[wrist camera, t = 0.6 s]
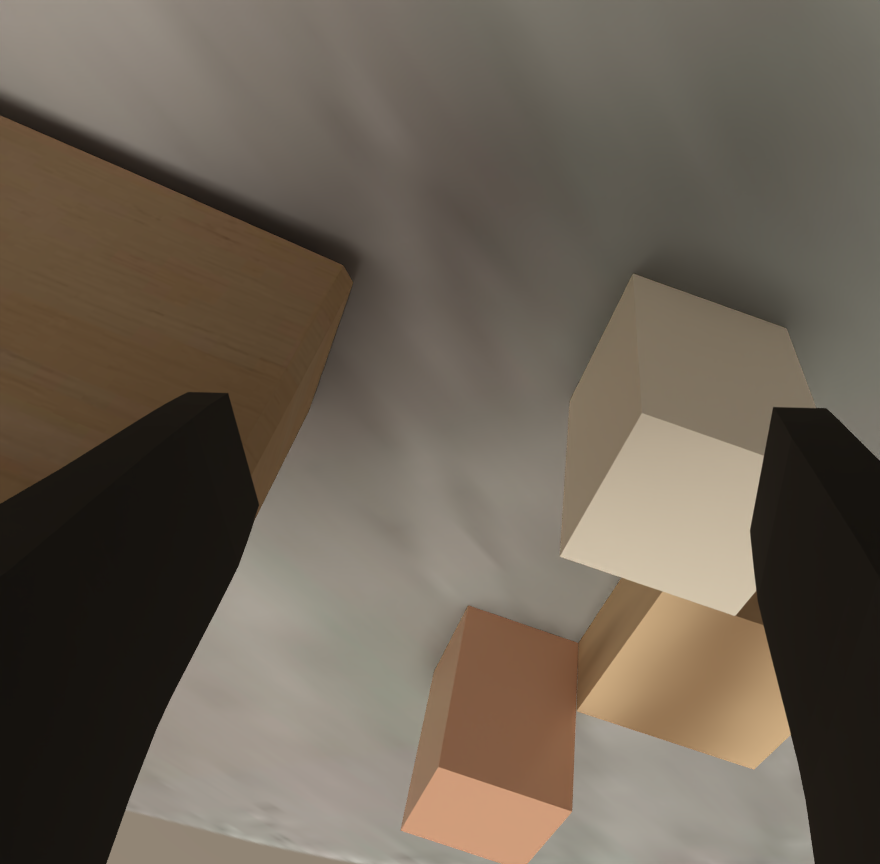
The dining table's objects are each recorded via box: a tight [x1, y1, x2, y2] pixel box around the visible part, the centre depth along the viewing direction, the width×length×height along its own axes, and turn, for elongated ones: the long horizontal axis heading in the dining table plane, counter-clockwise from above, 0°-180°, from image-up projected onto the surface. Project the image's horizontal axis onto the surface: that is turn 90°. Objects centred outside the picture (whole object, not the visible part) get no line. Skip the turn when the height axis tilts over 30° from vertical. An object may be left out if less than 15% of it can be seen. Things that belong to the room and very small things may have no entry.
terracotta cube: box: [401, 606, 578, 864], centre depth 26 cm, size 4×4×6 cm
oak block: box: [577, 578, 791, 769], centre depth 25 cm, size 6×6×3 cm
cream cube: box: [560, 274, 816, 616], centre depth 18 cm, size 4×4×6 cm
